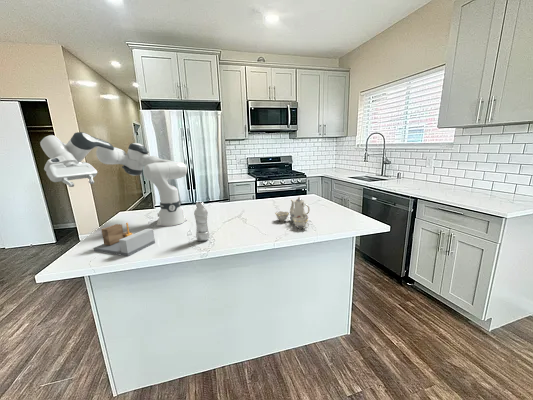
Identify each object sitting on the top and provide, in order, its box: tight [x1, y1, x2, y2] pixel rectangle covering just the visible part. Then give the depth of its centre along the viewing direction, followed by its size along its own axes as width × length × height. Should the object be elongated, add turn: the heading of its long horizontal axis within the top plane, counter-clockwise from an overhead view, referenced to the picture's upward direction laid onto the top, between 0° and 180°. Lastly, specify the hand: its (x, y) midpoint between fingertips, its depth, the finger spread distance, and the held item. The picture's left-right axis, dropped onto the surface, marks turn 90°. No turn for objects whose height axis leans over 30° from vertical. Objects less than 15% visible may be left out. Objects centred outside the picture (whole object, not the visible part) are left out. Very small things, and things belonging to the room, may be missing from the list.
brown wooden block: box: [101, 223, 132, 245], centre depth 124 cm, size 4×12×8 cm, turn 160°
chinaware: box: [274, 196, 311, 230], centre depth 147 cm, size 28×17×17 cm, turn 38°
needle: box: [125, 222, 133, 237], centre depth 127 cm, size 2×3×8 cm, turn 160°
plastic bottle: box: [193, 201, 210, 242], centre depth 124 cm, size 6×7×20 cm
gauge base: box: [93, 228, 156, 257], centre depth 120 cm, size 22×16×8 cm
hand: (82, 184), depth 119 cm, fingers open, 8 cm apart
